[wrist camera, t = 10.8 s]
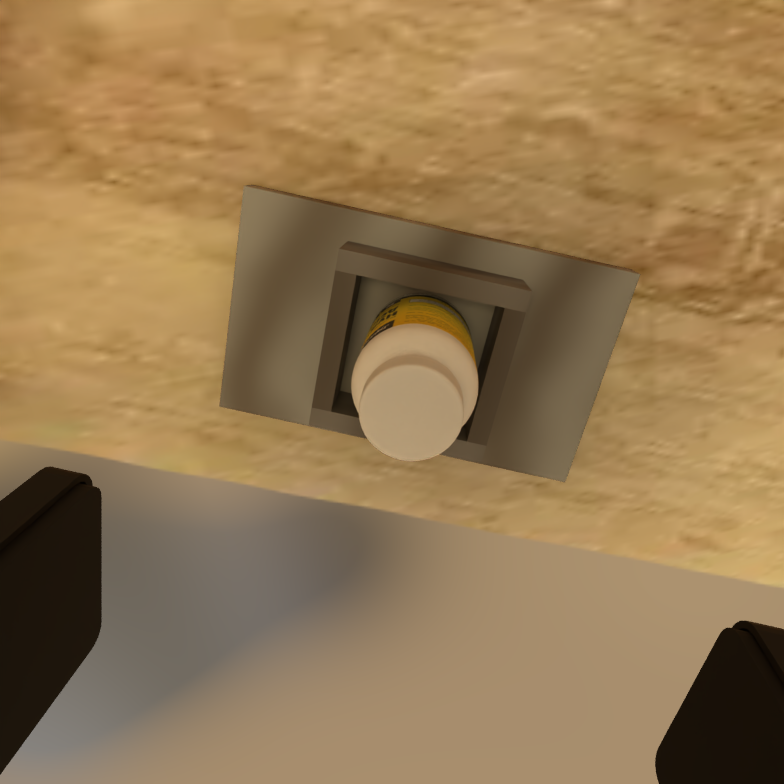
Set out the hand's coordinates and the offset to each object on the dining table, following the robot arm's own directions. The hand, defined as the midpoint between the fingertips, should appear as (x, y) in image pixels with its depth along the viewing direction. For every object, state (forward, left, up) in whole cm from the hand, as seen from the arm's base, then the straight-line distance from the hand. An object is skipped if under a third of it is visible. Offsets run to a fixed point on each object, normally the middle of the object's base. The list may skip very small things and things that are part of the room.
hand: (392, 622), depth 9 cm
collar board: (0, +2, -25) cm, 25 cm away
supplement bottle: (0, +2, -23) cm, 23 cm away
